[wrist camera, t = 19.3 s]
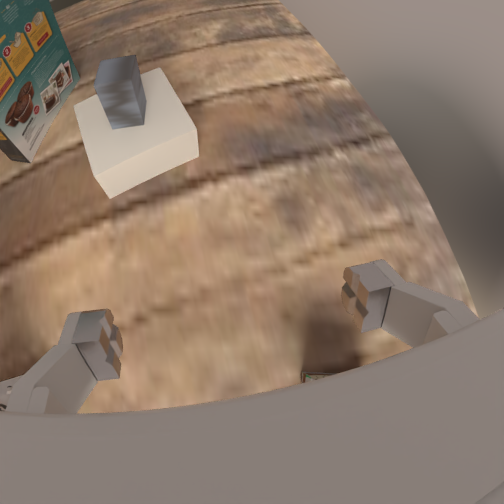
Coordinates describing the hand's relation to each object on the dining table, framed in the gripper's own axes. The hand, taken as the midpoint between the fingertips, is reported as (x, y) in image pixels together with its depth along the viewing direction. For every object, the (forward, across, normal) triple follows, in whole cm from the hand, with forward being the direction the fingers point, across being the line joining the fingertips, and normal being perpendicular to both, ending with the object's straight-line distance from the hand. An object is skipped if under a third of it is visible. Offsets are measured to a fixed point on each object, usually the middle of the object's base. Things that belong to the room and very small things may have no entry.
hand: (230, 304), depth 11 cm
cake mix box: (+56, +30, -8) cm, 64 cm away
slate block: (+42, +9, -4) cm, 43 cm away
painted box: (+48, +10, +2) cm, 49 cm away
